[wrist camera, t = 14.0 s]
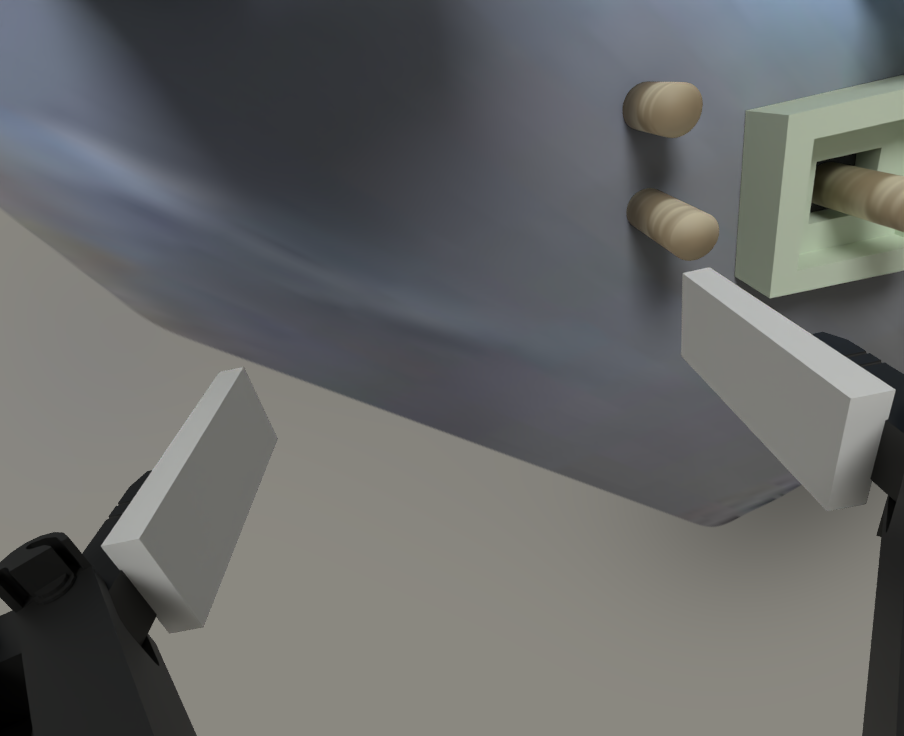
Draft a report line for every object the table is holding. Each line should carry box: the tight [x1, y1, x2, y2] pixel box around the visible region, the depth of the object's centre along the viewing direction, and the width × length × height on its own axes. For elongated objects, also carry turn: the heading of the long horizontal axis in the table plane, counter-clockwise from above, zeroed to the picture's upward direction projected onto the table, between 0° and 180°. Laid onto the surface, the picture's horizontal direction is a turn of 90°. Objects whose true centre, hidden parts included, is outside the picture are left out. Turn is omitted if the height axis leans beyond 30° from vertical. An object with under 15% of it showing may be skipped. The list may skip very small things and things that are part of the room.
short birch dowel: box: [623, 82, 703, 138], centre depth 38 cm, size 3×3×6 cm
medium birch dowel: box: [627, 188, 719, 261], centre depth 40 cm, size 3×3×9 cm
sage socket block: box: [735, 75, 904, 298], centre depth 42 cm, size 14×14×6 cm
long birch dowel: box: [811, 162, 904, 232], centre depth 38 cm, size 3×3×14 cm
